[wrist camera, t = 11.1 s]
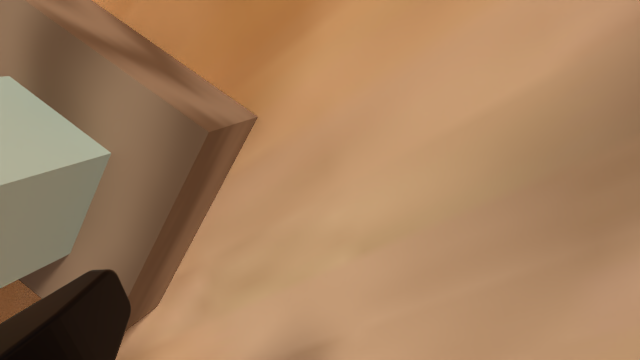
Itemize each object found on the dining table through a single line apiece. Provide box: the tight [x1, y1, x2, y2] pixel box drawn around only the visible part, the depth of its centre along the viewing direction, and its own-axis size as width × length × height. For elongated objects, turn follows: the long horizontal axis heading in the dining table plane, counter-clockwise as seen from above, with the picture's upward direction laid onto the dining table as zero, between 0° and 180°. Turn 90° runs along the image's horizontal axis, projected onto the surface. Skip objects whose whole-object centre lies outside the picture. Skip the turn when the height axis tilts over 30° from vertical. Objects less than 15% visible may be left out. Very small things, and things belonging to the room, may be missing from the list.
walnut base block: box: [0, 0, 257, 331], centre depth 23 cm, size 12×12×4 cm
